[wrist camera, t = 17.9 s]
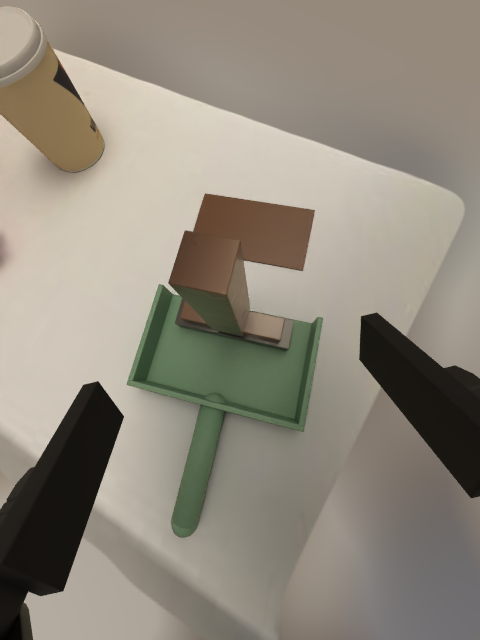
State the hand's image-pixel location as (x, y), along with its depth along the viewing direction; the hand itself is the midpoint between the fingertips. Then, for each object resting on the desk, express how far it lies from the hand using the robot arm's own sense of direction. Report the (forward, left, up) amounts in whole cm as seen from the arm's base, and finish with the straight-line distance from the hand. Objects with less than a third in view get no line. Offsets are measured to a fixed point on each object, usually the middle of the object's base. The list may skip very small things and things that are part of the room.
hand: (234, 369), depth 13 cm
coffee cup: (+30, -25, -15) cm, 42 cm away
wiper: (+3, -5, -14) cm, 15 cm away
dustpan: (+3, +4, -14) cm, 15 cm away
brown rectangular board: (+3, -17, -14) cm, 22 cm away
